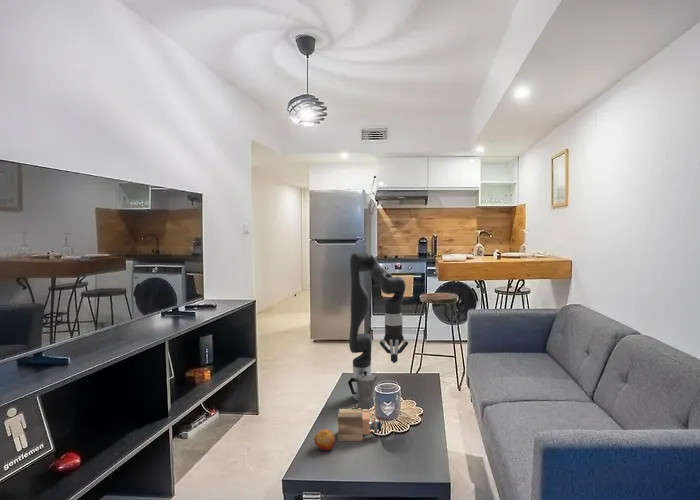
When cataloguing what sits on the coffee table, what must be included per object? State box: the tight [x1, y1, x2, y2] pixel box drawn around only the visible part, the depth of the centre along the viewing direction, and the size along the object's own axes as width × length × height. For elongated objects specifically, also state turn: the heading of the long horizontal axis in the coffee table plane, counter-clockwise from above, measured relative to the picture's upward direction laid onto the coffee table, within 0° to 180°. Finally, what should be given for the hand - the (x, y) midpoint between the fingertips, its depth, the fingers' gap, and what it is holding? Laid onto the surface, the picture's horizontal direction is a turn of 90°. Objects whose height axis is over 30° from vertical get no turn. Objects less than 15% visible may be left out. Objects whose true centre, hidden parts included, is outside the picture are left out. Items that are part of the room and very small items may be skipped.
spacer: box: [362, 411, 371, 435], centre depth 182 cm, size 7×3×6 cm, turn 177°
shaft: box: [370, 418, 383, 434], centre depth 183 cm, size 6×18×6 cm, turn 87°
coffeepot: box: [347, 371, 379, 409], centre depth 210 cm, size 15×9×18 cm, turn 107°
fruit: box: [313, 428, 335, 451], centre depth 174 cm, size 8×8×8 cm
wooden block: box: [337, 408, 364, 442], centre depth 183 cm, size 8×10×10 cm
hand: (394, 362), depth 188 cm, fingers closed
